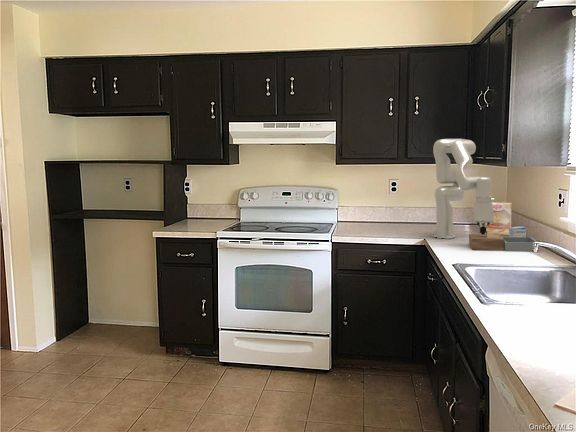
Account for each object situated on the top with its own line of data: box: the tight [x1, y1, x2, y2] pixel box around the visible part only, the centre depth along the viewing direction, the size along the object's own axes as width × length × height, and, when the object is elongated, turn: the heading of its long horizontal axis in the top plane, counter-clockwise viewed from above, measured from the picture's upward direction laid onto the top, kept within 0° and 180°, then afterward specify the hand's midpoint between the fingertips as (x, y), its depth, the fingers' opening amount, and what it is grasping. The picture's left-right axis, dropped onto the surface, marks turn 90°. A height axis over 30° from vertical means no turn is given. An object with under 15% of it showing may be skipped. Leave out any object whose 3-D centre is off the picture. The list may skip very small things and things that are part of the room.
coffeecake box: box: [485, 202, 513, 236], centre depth 312 cm, size 15×7×20 cm, turn 62°
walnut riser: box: [468, 233, 505, 252], centre depth 268 cm, size 16×16×6 cm
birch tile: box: [486, 230, 500, 238], centre depth 266 cm, size 6×6×3 cm
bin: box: [502, 236, 540, 253], centre depth 264 cm, size 18×16×4 cm
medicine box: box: [508, 226, 527, 237], centre depth 281 cm, size 8×4×9 cm, turn 105°
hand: (483, 234), depth 268 cm, fingers closed
